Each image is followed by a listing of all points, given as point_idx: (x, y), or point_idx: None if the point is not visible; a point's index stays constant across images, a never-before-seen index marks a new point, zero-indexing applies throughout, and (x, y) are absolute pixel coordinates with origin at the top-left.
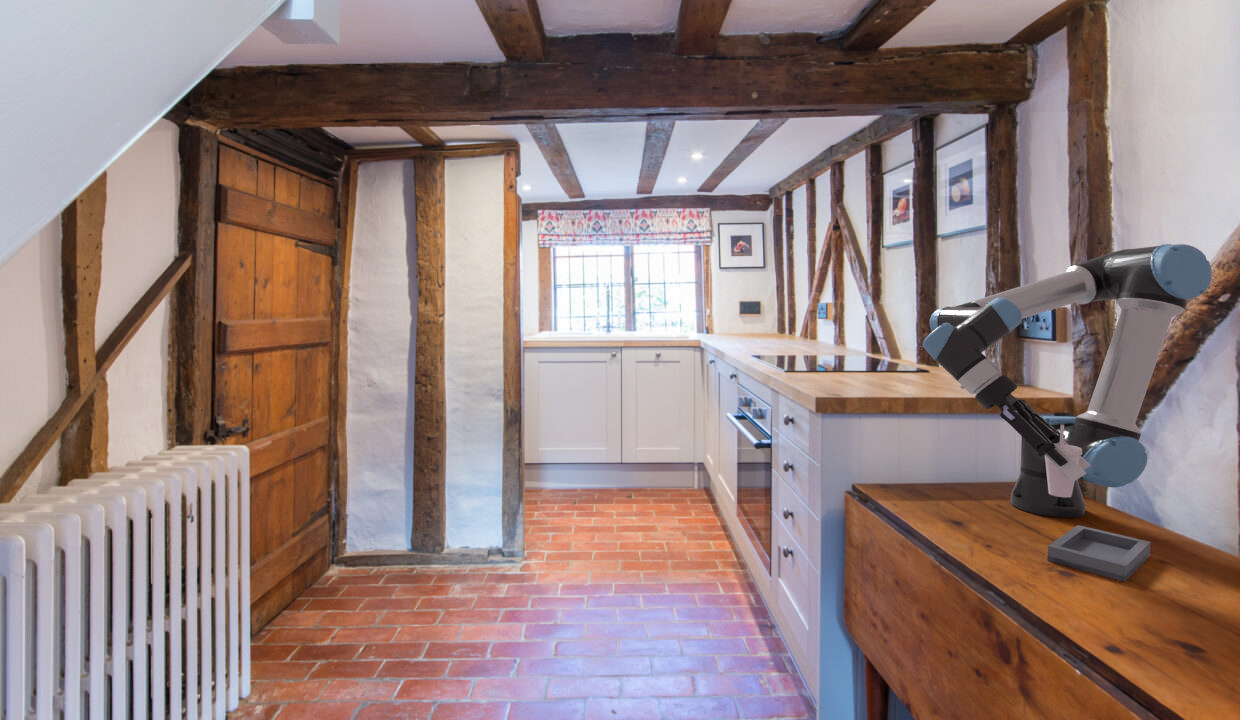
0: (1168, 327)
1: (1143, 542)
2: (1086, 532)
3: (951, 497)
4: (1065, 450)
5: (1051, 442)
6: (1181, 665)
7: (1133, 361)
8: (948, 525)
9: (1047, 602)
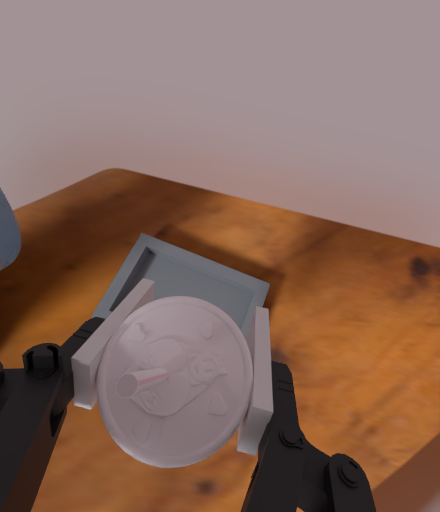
0: None
1: (149, 241)
2: (113, 307)
3: None
4: (251, 368)
5: (275, 448)
6: None
7: None
8: None
9: (407, 401)
